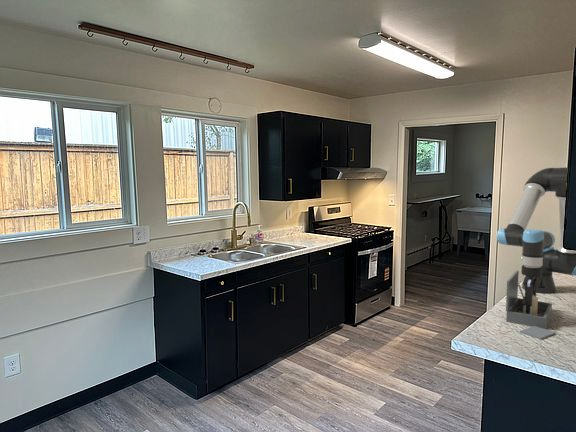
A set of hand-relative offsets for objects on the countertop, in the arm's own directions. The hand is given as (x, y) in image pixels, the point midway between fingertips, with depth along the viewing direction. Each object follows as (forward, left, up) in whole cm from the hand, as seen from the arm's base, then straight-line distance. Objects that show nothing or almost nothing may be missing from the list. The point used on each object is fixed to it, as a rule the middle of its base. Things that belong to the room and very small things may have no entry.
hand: (529, 316), depth 174 cm
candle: (0, 0, 0) cm, 0 cm away
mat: (+14, +12, 0) cm, 18 cm away
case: (0, 0, 0) cm, 0 cm away
